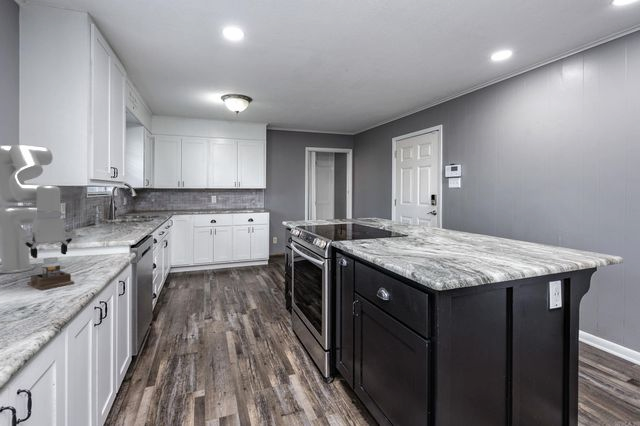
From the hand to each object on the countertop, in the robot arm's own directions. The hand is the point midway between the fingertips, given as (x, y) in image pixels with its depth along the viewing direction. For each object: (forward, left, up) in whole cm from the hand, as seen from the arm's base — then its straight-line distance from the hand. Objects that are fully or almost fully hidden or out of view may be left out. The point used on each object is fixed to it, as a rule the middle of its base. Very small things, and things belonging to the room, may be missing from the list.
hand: (49, 255), depth 130 cm
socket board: (+1, 0, -12) cm, 12 cm away
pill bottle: (0, 0, -11) cm, 11 cm away
